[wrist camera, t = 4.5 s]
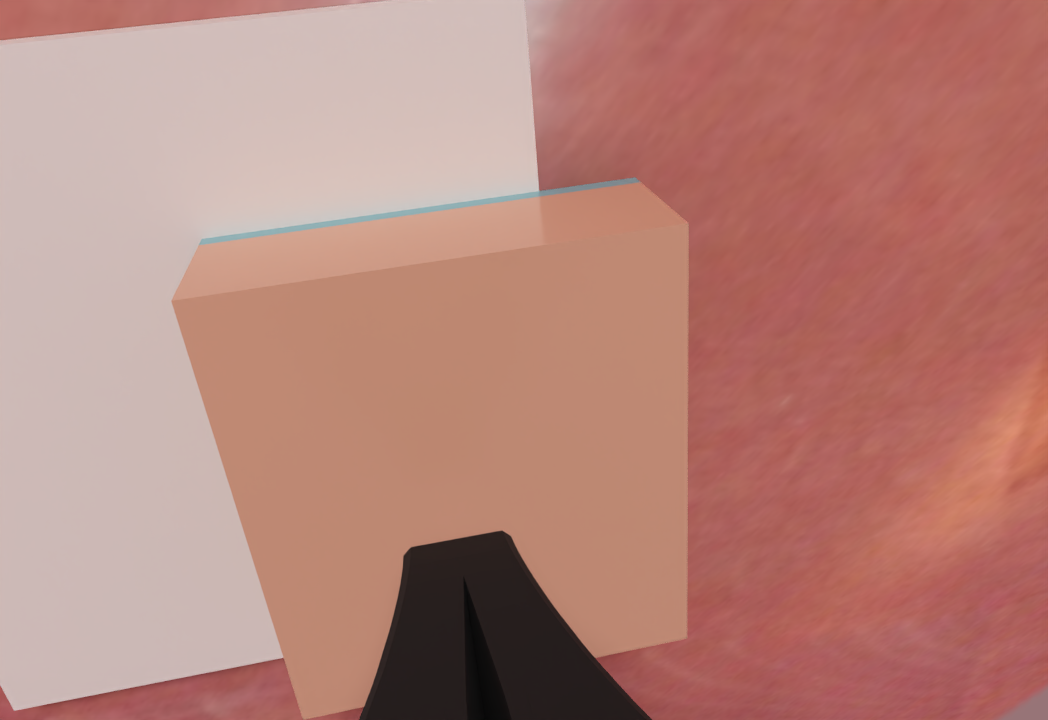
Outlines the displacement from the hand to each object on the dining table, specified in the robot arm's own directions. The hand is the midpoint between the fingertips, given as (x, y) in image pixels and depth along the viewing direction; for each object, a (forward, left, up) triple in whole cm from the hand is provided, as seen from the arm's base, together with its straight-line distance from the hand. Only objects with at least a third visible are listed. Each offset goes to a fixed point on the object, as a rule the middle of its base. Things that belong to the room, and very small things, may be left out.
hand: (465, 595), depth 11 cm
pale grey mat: (+3, -1, -5) cm, 6 cm away
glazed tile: (-4, 0, -3) cm, 5 cm away
